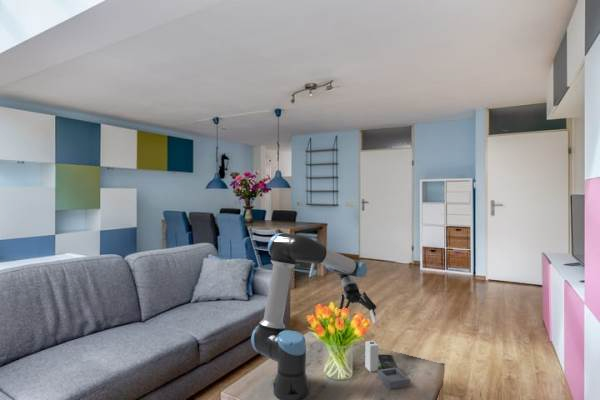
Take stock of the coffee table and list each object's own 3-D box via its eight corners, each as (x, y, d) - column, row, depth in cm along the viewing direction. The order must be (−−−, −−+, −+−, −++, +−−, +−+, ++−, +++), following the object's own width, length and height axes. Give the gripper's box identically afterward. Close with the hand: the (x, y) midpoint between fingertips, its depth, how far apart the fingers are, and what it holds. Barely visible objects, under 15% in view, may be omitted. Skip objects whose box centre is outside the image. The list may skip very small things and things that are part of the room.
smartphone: (381, 369, 165) (376, 354, 180) (381, 371, 165) (376, 356, 180) (398, 369, 164) (391, 354, 179) (398, 371, 164) (391, 356, 179)
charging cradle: (389, 389, 149) (389, 382, 149) (377, 376, 159) (377, 370, 159) (409, 385, 151) (409, 378, 151) (396, 373, 161) (396, 367, 161)
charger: (370, 371, 163) (370, 344, 163) (365, 366, 168) (365, 340, 168) (377, 370, 164) (378, 343, 164) (372, 365, 169) (373, 339, 169)
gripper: (369, 287, 196) (382, 324, 182) (326, 291, 189) (337, 330, 175) (373, 280, 190) (387, 318, 176) (330, 284, 183) (341, 323, 170)
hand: (362, 324), depth 176 cm, fingers open, 13 cm apart
